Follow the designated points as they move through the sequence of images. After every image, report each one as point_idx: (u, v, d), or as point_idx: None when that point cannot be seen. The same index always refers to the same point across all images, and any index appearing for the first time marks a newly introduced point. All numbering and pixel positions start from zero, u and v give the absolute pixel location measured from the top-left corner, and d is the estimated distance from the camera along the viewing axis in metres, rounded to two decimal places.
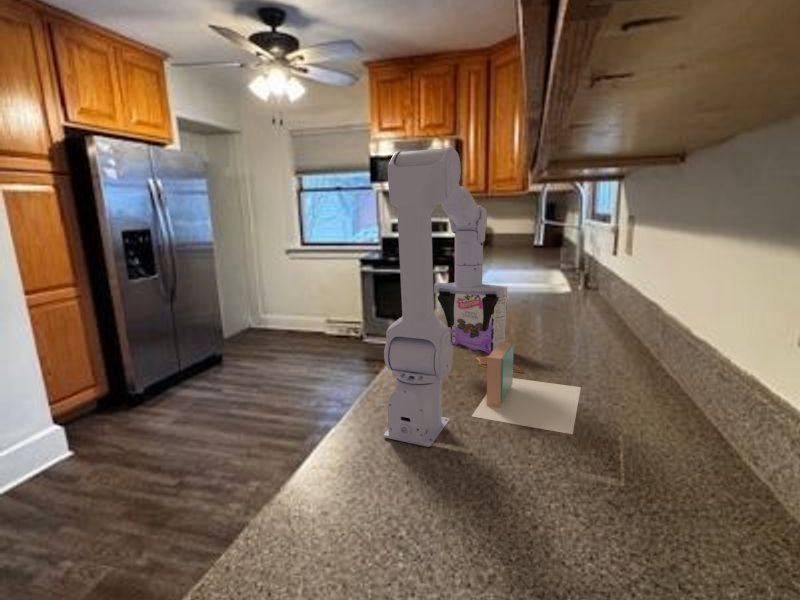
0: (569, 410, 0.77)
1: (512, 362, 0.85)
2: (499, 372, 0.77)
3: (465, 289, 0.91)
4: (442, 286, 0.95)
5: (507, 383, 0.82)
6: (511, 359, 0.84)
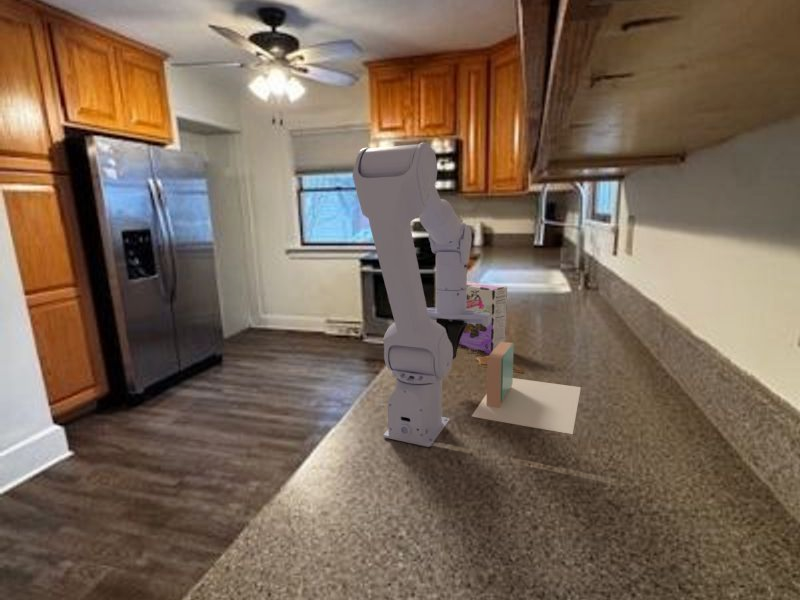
0: (569, 410, 0.77)
1: (512, 362, 0.85)
2: (499, 372, 0.77)
3: (447, 316, 0.82)
4: None
5: (507, 383, 0.82)
6: (511, 359, 0.84)
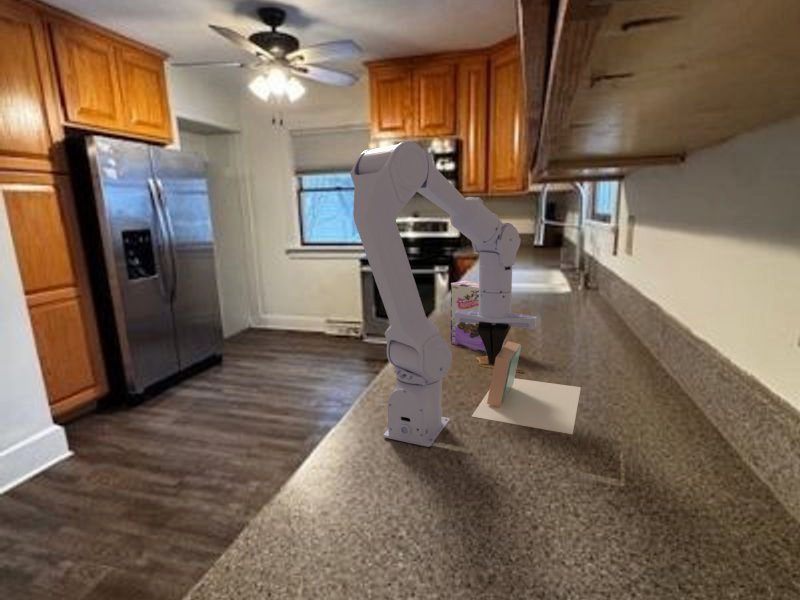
0: (569, 410, 0.77)
1: (517, 363, 0.85)
2: (505, 373, 0.77)
3: (492, 320, 0.78)
4: (464, 315, 0.82)
5: (509, 384, 0.82)
6: (517, 360, 0.84)
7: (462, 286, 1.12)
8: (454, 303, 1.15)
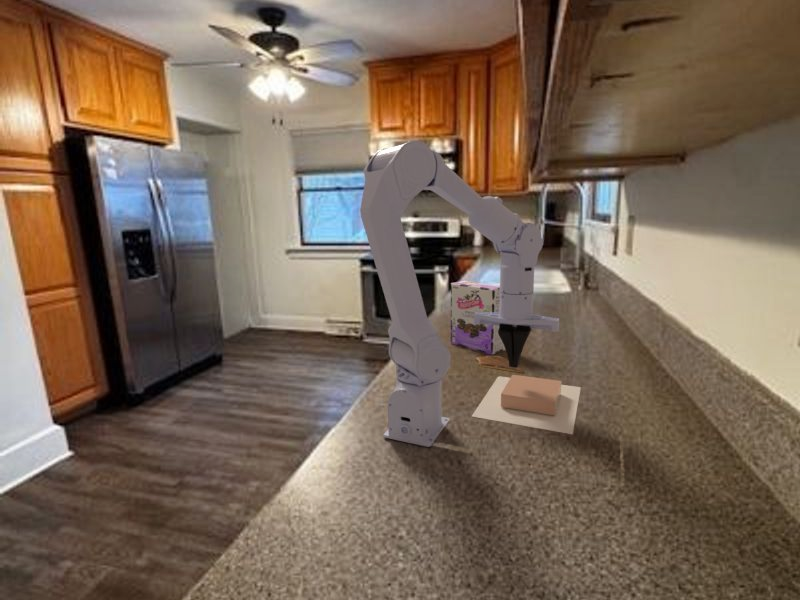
0: (569, 410, 0.77)
1: None
2: (539, 411, 0.76)
3: (513, 322, 0.77)
4: (484, 317, 0.80)
5: None
6: None
7: (462, 286, 1.12)
8: (454, 303, 1.15)
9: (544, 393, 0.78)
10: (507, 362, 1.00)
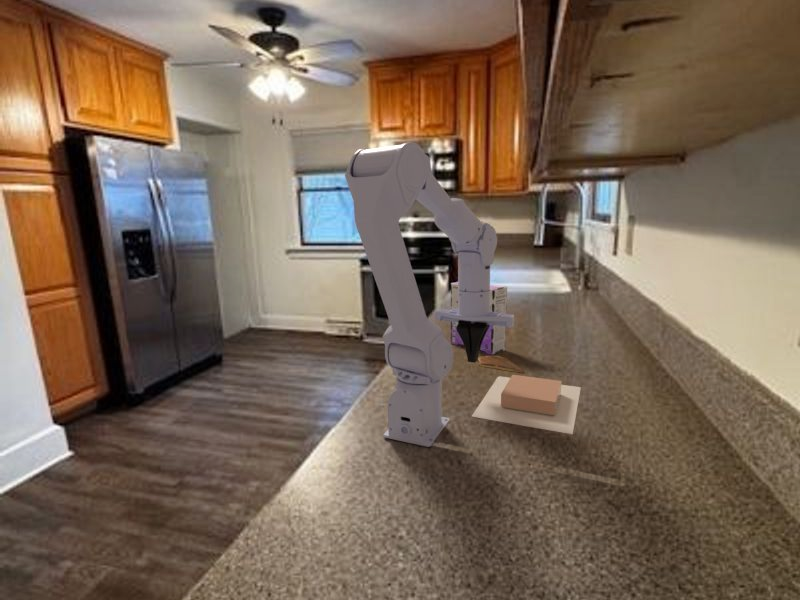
0: (569, 410, 0.77)
1: None
2: (539, 411, 0.76)
3: (470, 318, 0.80)
4: (444, 314, 0.84)
5: None
6: None
7: None
8: (454, 303, 1.15)
9: (544, 393, 0.78)
10: (507, 362, 1.00)
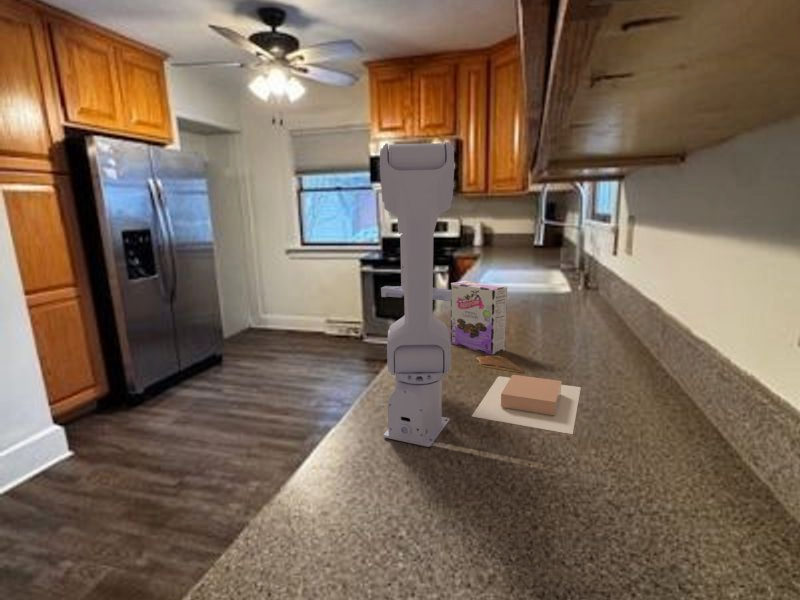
0: (569, 410, 0.77)
1: None
2: (539, 411, 0.76)
3: None
4: (389, 290, 0.90)
5: None
6: None
7: (462, 286, 1.12)
8: (454, 303, 1.15)
9: (544, 393, 0.78)
10: (507, 362, 1.00)
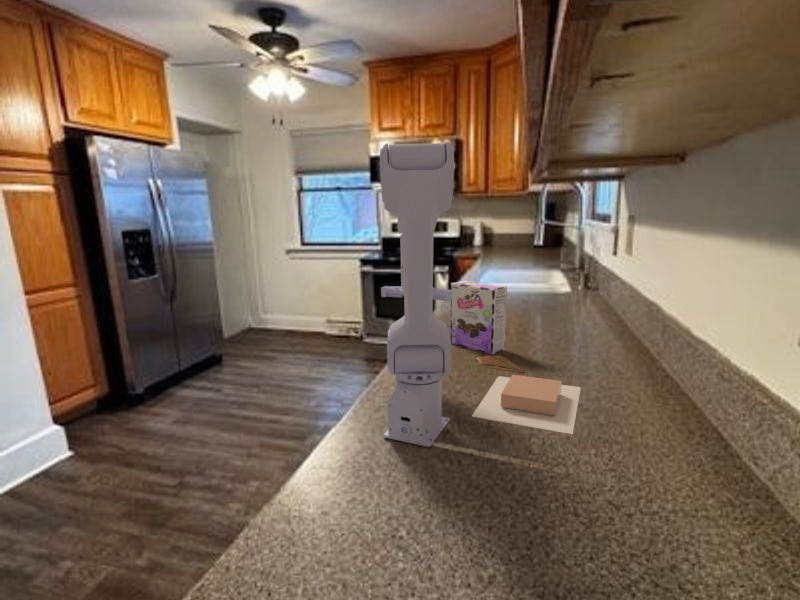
0: (569, 410, 0.77)
1: None
2: (539, 411, 0.76)
3: None
4: (389, 290, 0.90)
5: None
6: None
7: (462, 286, 1.12)
8: (454, 303, 1.15)
9: (544, 393, 0.78)
10: (507, 362, 1.00)
